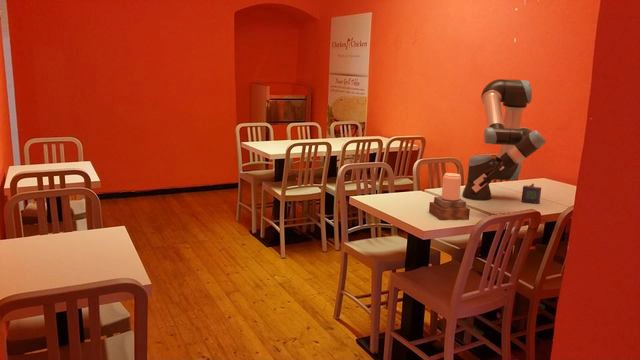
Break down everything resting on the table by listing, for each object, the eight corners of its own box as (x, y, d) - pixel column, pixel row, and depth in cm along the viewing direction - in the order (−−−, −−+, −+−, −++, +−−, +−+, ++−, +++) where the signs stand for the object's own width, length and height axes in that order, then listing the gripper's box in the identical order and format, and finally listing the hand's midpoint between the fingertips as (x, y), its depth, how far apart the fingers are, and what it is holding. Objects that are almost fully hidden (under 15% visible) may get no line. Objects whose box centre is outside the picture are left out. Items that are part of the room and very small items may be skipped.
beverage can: (439, 197, 250) (441, 172, 248) (455, 197, 251) (457, 173, 248) (444, 201, 242) (446, 176, 240) (461, 201, 243) (463, 176, 240)
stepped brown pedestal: (455, 211, 256) (457, 195, 255) (469, 219, 243) (470, 202, 241) (428, 212, 254) (430, 196, 252) (441, 220, 240) (442, 203, 238)
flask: (539, 203, 280) (541, 183, 278) (539, 204, 277) (542, 184, 275) (520, 201, 282) (523, 182, 280) (521, 202, 280) (523, 183, 277)
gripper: (518, 168, 222) (478, 199, 230) (517, 160, 246) (480, 188, 253) (507, 155, 223) (467, 186, 231) (506, 148, 246) (470, 176, 254)
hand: (474, 187), depth 242 cm, fingers open, 13 cm apart
